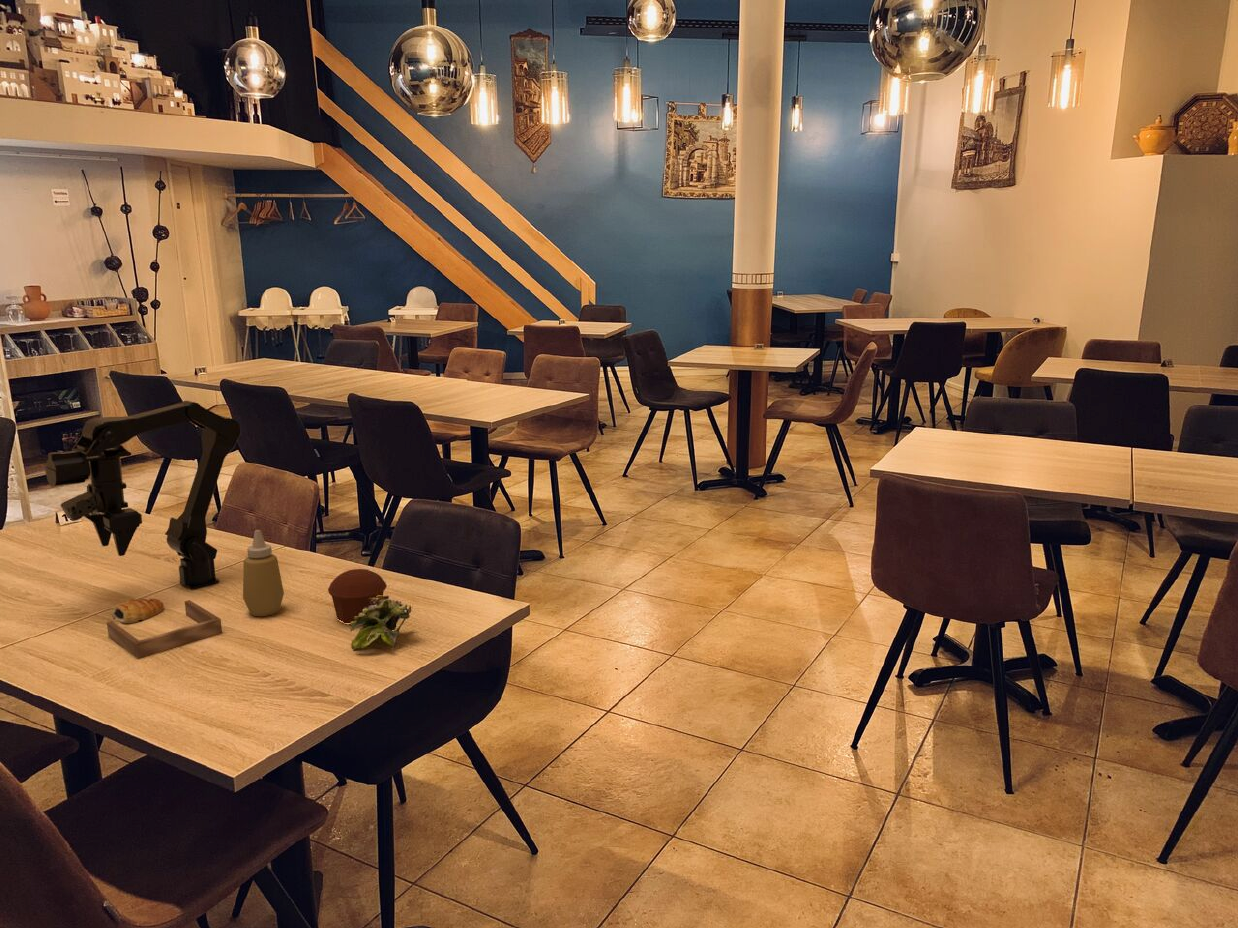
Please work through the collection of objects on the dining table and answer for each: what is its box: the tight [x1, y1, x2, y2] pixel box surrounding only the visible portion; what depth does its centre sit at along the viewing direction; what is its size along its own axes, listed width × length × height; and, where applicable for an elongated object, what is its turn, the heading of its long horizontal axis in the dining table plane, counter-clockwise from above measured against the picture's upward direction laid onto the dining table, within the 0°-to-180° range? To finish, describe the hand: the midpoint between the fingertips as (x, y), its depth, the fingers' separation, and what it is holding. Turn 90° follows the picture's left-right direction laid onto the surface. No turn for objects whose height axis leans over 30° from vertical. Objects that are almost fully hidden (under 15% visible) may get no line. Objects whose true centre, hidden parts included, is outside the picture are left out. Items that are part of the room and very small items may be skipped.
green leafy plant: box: [349, 594, 412, 651], centre depth 174 cm, size 11×11×12 cm
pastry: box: [111, 598, 165, 624], centre depth 187 cm, size 9×7×4 cm
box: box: [106, 599, 223, 659], centre depth 178 cm, size 16×14×3 cm
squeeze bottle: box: [242, 529, 285, 617], centre depth 188 cm, size 8×8×18 cm
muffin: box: [327, 568, 388, 623], centre depth 186 cm, size 12×11×10 cm
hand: (113, 550), depth 191 cm, fingers open, 9 cm apart
